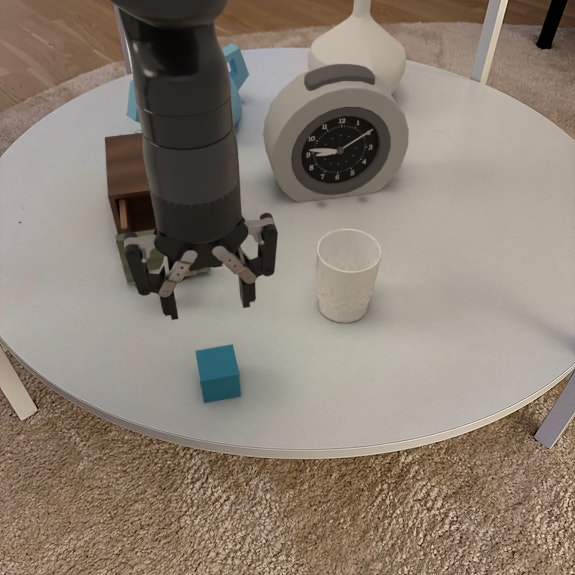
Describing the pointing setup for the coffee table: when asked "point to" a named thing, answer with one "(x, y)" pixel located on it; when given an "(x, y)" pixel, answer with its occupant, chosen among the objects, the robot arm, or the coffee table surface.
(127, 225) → the drawer
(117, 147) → the cabinet
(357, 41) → the vase
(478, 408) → the coffee table surface
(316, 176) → the alarm clock
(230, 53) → the teapot
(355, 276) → the white cup
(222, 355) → the blue block
